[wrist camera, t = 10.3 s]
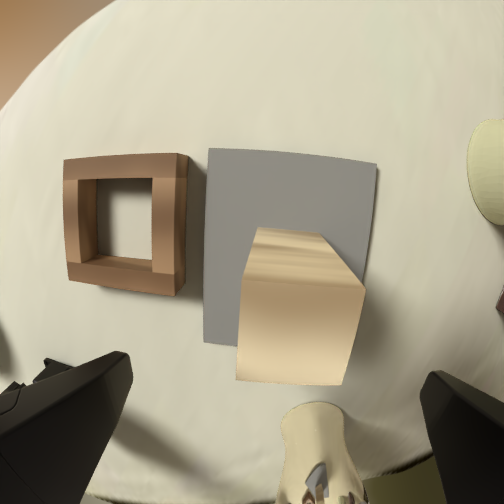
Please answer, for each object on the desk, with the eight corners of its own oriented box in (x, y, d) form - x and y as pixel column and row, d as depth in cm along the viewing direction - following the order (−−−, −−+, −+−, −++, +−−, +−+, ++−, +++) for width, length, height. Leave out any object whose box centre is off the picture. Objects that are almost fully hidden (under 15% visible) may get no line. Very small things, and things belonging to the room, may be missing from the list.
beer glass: (362, 414, 23) (397, 545, 8) (312, 449, 24) (321, 570, 10) (311, 386, 22) (331, 548, 8) (260, 426, 24) (249, 565, 9)
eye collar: (185, 283, 20) (174, 296, 18) (86, 270, 21) (68, 280, 19) (188, 155, 18) (176, 153, 16) (83, 160, 19) (63, 159, 16)
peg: (311, 290, 19) (340, 385, 10) (253, 285, 20) (235, 379, 10) (318, 232, 18) (366, 289, 9) (257, 227, 19) (241, 279, 9)
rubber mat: (344, 348, 21) (346, 352, 20) (205, 338, 22) (203, 342, 21) (373, 164, 18) (376, 163, 17) (210, 149, 18) (208, 148, 17)
